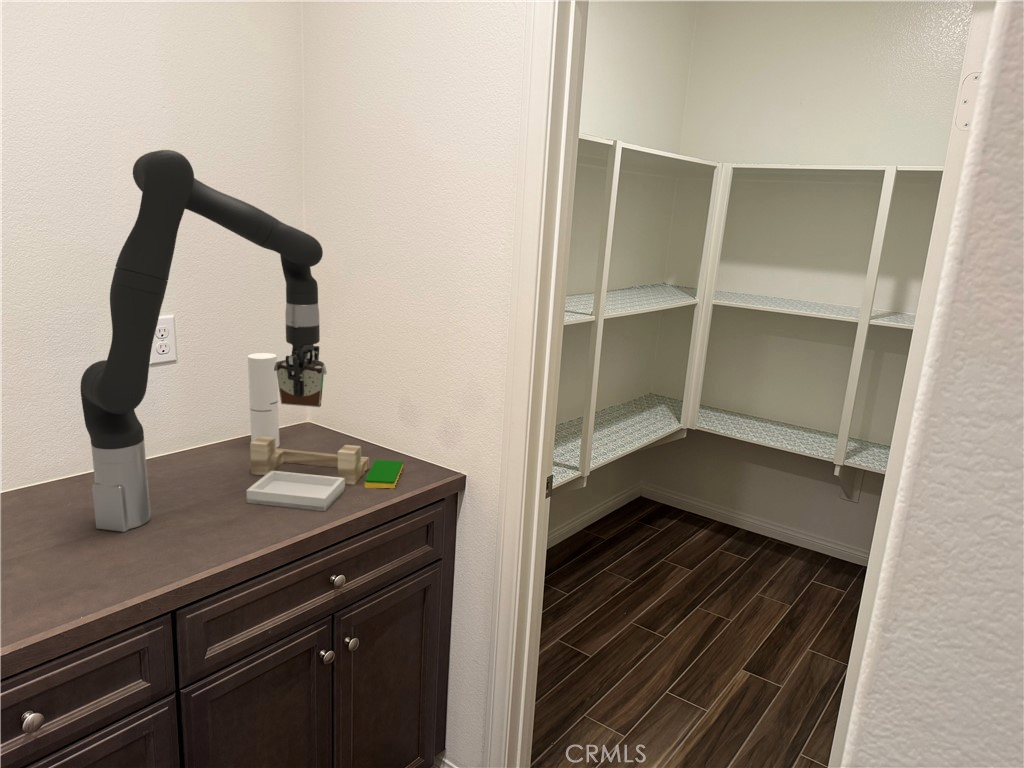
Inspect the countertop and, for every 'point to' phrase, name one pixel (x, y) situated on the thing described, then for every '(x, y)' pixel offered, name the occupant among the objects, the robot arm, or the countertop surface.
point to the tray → (296, 490)
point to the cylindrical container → (263, 396)
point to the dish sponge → (383, 474)
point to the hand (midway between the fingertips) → (303, 392)
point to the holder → (307, 459)
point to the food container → (311, 384)
